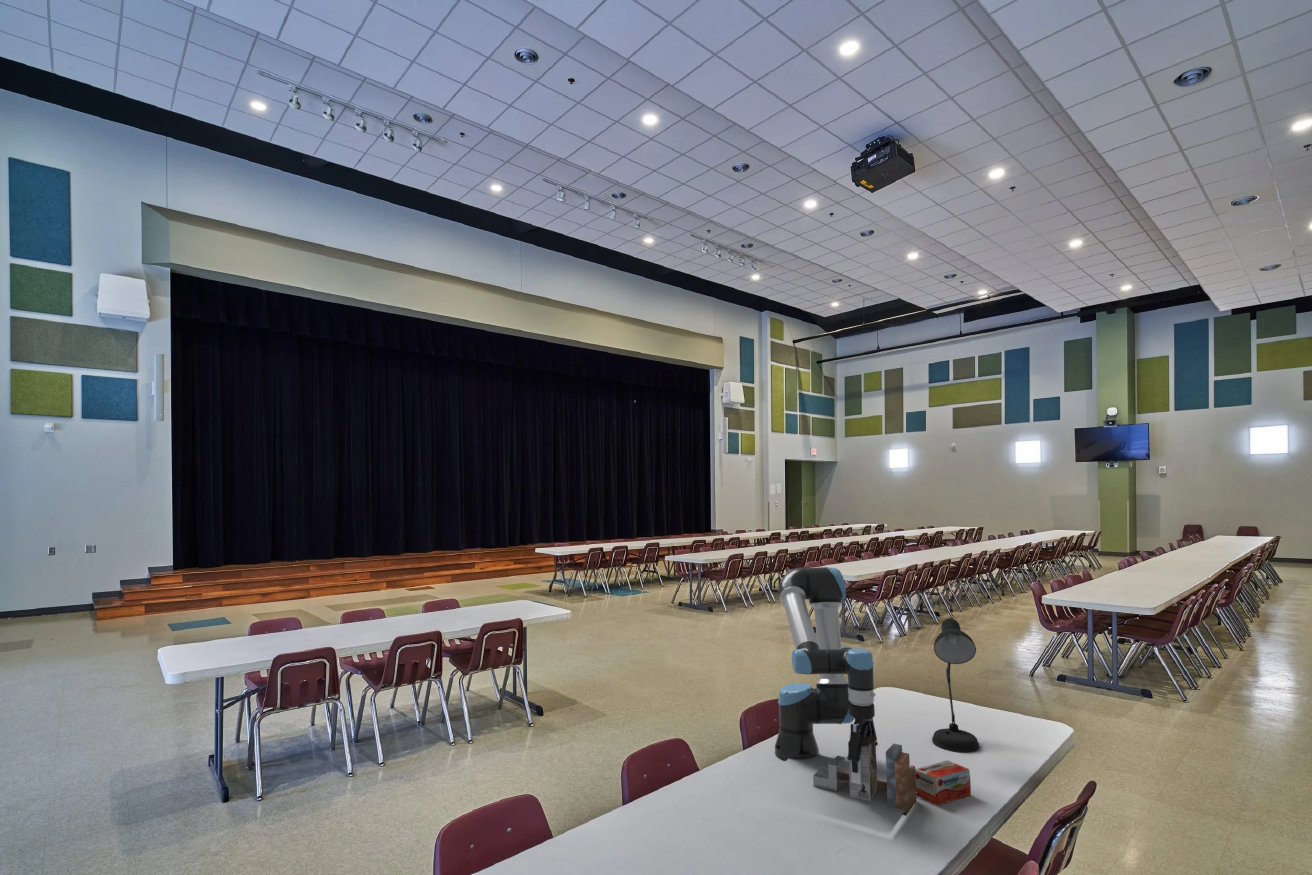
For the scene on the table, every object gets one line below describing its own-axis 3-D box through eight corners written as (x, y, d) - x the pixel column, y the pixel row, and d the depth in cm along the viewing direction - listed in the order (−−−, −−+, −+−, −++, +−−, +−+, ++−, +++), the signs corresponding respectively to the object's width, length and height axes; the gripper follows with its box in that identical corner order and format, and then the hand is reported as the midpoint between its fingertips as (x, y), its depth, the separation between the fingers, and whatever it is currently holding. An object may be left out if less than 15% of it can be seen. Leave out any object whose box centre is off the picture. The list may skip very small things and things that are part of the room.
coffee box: (856, 785, 205) (854, 731, 206) (878, 790, 202) (876, 735, 203) (849, 797, 197) (847, 741, 198) (871, 802, 194) (869, 745, 195)
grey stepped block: (813, 785, 205) (812, 760, 205) (822, 776, 211) (822, 751, 212) (837, 791, 200) (836, 765, 201) (846, 782, 207) (845, 757, 207)
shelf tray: (809, 790, 204) (807, 736, 206) (822, 777, 213) (820, 726, 215) (906, 815, 188) (904, 757, 189) (916, 800, 197) (914, 745, 198)
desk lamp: (960, 763, 223) (954, 627, 227) (902, 738, 247) (897, 615, 251) (1010, 751, 234) (1003, 621, 237) (950, 728, 257) (944, 610, 261)
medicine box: (948, 785, 207) (947, 758, 208) (971, 795, 200) (970, 768, 201) (914, 795, 200) (913, 768, 201) (937, 806, 193) (935, 778, 194)
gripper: (860, 715, 190) (863, 793, 188) (885, 694, 210) (888, 763, 208) (834, 710, 194) (837, 786, 192) (862, 690, 214) (864, 758, 212)
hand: (863, 774), depth 200 cm, fingers open, 13 cm apart
